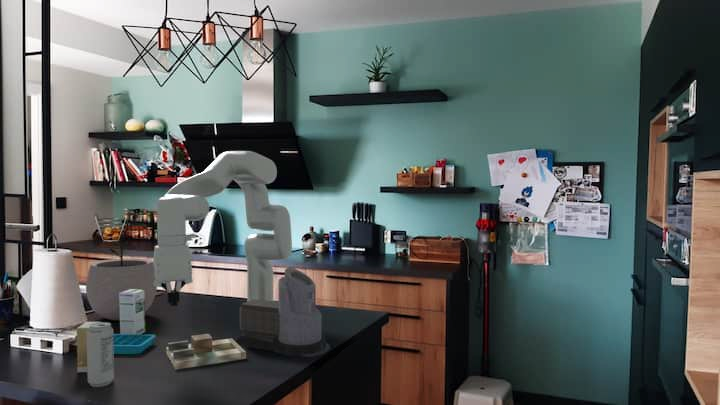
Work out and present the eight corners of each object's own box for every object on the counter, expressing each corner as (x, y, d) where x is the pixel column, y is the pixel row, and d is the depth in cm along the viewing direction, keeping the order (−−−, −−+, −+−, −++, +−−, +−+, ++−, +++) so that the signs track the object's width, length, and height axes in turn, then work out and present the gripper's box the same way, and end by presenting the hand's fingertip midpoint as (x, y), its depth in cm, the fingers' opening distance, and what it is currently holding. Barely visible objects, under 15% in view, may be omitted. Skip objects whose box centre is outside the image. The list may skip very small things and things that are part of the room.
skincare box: (86, 364, 152) (85, 321, 152) (102, 364, 153) (102, 321, 152) (76, 373, 146) (75, 327, 145) (93, 372, 146) (92, 327, 146)
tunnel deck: (231, 344, 171) (231, 331, 171) (245, 358, 158) (245, 345, 158) (166, 353, 162) (166, 340, 162) (175, 369, 149) (175, 355, 149)
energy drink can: (100, 377, 143) (99, 320, 142) (119, 380, 141) (118, 322, 140) (82, 386, 137) (81, 326, 136) (101, 389, 135) (101, 328, 134)
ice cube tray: (141, 356, 161) (141, 346, 161) (73, 354, 162) (73, 344, 162) (157, 344, 173) (157, 334, 172) (94, 343, 173) (94, 333, 173)
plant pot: (79, 316, 204) (78, 236, 203) (145, 307, 219) (145, 232, 217) (95, 331, 185) (94, 242, 184) (166, 320, 200) (165, 238, 199)
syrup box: (135, 337, 179) (135, 292, 178) (119, 335, 180) (118, 292, 179) (145, 332, 184) (145, 289, 184) (130, 331, 186) (129, 288, 185)
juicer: (338, 344, 173) (338, 267, 172) (315, 359, 158) (315, 275, 157) (256, 333, 184) (256, 261, 183) (228, 347, 169) (227, 268, 168)
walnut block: (208, 346, 162) (208, 333, 162) (212, 351, 158) (212, 338, 158) (191, 349, 160) (191, 335, 160) (194, 354, 156) (194, 340, 156)
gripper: (196, 237, 161) (197, 299, 162) (141, 241, 154) (143, 305, 155) (201, 240, 155) (203, 304, 156) (145, 244, 147) (147, 311, 149)
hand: (173, 304), depth 156 cm, fingers closed
